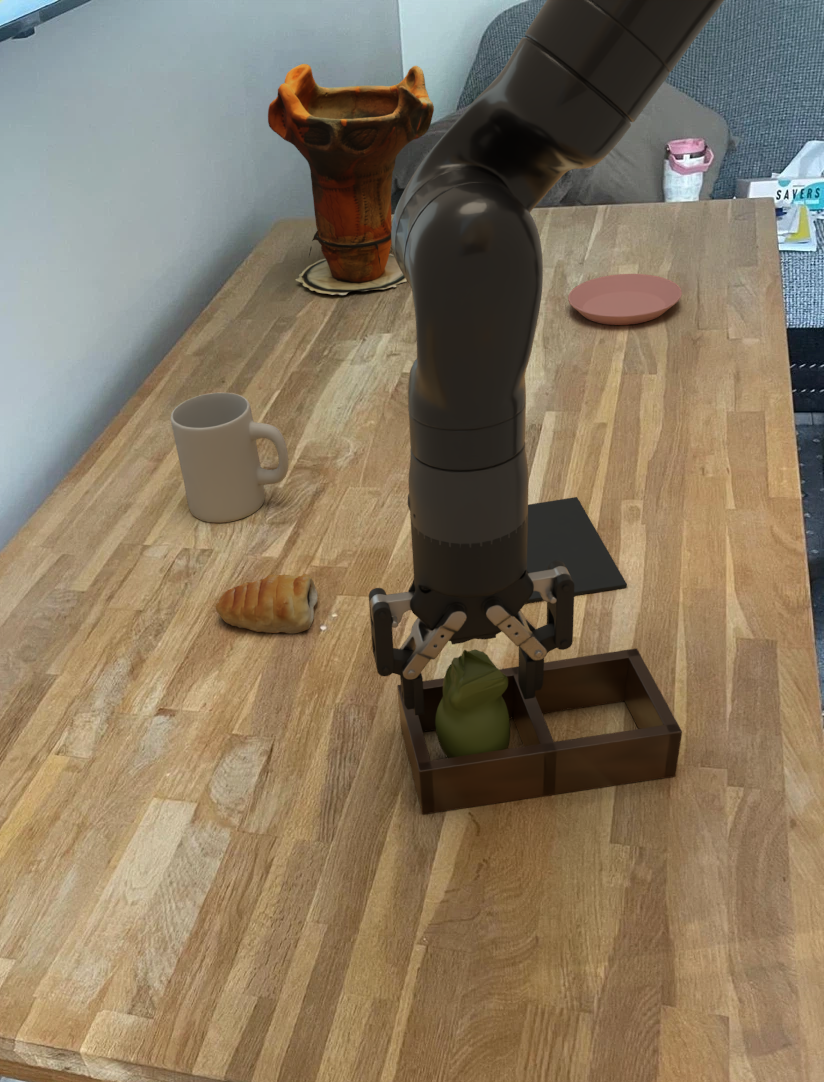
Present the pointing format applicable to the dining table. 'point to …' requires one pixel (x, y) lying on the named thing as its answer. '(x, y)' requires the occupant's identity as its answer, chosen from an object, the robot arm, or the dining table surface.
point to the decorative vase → (351, 170)
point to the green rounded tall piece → (472, 707)
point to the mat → (569, 547)
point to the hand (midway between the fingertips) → (472, 699)
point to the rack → (550, 737)
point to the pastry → (271, 604)
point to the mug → (224, 456)
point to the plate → (624, 298)
